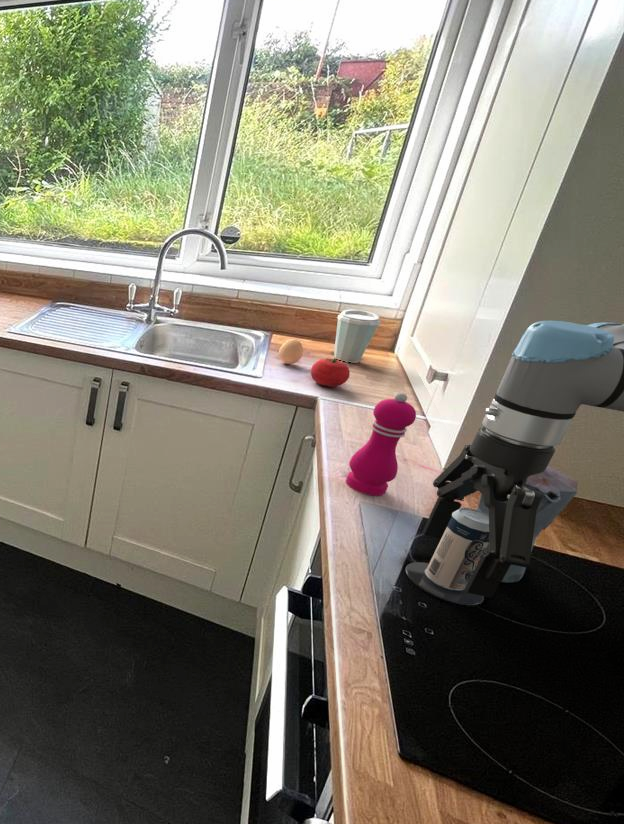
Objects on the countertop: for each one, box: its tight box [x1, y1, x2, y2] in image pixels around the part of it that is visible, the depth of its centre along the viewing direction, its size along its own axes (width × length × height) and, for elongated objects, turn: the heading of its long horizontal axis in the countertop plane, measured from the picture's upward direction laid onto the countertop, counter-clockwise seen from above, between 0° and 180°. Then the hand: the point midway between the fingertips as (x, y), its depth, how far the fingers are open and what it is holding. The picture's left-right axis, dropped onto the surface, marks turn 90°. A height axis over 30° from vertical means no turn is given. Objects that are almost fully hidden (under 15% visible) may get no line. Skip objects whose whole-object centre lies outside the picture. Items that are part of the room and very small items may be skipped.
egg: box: [278, 338, 304, 365], centre depth 175 cm, size 6×6×8 cm
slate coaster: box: [404, 561, 485, 607], centre depth 87 cm, size 9×9×1 cm
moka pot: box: [476, 465, 578, 584], centre depth 89 cm, size 10×15×20 cm, turn 159°
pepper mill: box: [345, 392, 417, 497], centre depth 108 cm, size 7×7×20 cm
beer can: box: [425, 507, 489, 590], centre depth 85 cm, size 5×5×12 cm
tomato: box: [310, 357, 351, 388], centre depth 160 cm, size 9×9×8 cm
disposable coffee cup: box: [333, 309, 382, 364], centre depth 179 cm, size 11×11×15 cm
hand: (453, 562), depth 86 cm, fingers open, 13 cm apart
